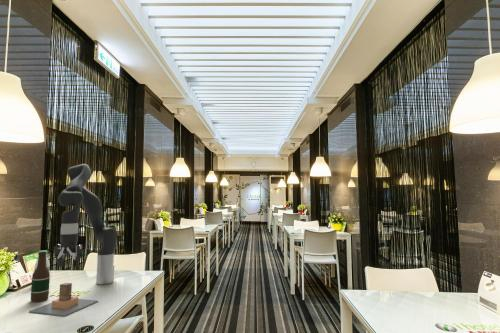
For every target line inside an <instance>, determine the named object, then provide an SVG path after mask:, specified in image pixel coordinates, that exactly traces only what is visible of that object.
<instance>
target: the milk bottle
mask: <svg viewBox="0 0 500 333" xmlns="http://www.w3.org/2000/svg"><path fill="white" fill-rule="evenodd" d="M42 251H46V252H47V254H46V267H47V269H48V270H49V272H50V268H51V267H50V265H51V264H50V261H49V258H48V252H49V251H48V250H46V249H45V250H39V251H38V253H39V252H42ZM37 265H38V259H37V260H36V262H35V264H34V270H33V272H34V271H35V270H36V268H37Z"/></svg>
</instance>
